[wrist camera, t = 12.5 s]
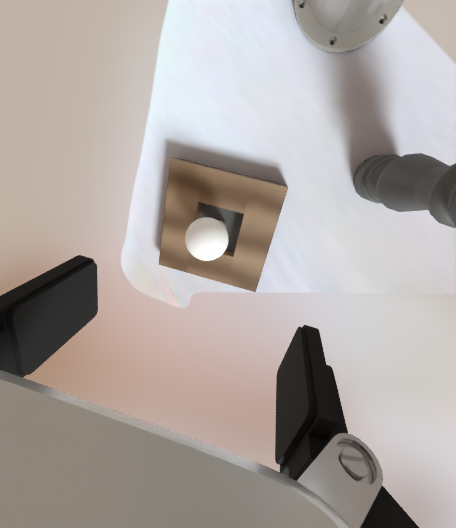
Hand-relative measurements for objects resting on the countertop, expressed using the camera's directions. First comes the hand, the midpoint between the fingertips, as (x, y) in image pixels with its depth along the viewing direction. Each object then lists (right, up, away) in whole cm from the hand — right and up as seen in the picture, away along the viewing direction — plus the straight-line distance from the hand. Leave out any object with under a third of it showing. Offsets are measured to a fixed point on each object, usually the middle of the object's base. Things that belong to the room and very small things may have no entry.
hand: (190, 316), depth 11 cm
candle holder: (+23, +15, +25) cm, 37 cm away
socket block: (0, +9, +32) cm, 33 cm away
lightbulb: (0, +9, +31) cm, 32 cm away
